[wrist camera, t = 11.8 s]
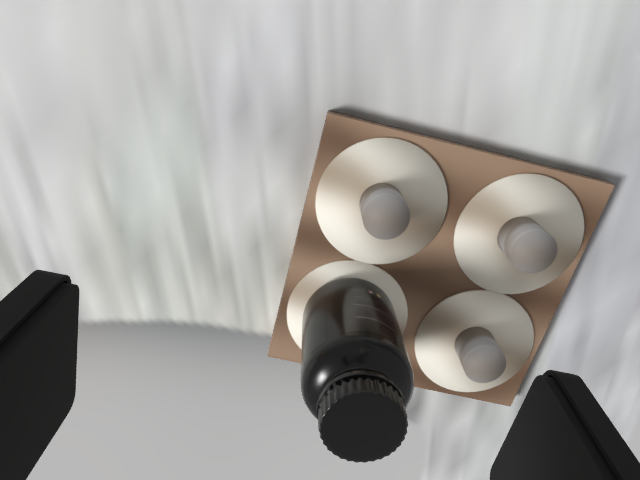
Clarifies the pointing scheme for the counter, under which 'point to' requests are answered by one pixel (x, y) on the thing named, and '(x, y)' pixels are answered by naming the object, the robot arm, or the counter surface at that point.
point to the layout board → (441, 249)
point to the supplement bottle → (355, 369)
